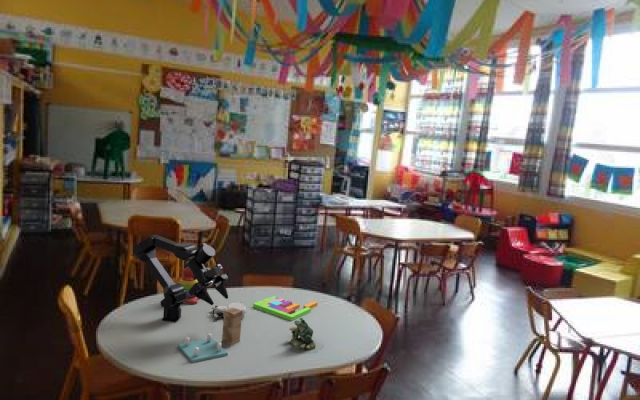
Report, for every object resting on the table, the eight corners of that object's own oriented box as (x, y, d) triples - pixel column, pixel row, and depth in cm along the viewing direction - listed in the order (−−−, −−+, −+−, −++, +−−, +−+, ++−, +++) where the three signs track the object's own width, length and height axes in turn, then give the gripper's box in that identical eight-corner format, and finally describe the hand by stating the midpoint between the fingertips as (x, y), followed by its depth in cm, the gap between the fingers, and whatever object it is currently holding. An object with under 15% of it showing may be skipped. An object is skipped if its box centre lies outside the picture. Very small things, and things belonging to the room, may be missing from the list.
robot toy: (213, 323, 220) (248, 319, 225) (213, 313, 220) (248, 310, 224) (210, 312, 232) (243, 309, 236) (210, 303, 231) (243, 300, 236)
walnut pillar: (221, 341, 201) (224, 310, 199) (230, 337, 205) (232, 307, 203) (231, 345, 199) (234, 314, 197) (239, 341, 203) (242, 310, 201)
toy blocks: (291, 321, 229) (321, 308, 250) (291, 317, 229) (321, 303, 250) (252, 308, 241) (284, 295, 262) (253, 303, 240) (284, 291, 261)
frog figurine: (274, 336, 211) (276, 310, 210) (314, 334, 218) (317, 308, 216) (286, 356, 195) (289, 327, 193) (329, 352, 201) (332, 325, 200)
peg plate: (178, 346, 193) (178, 336, 193) (212, 340, 202) (212, 330, 201) (191, 362, 182) (192, 352, 182) (227, 355, 190) (228, 345, 190)
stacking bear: (196, 304, 237) (198, 268, 234) (174, 302, 237) (176, 266, 234) (201, 297, 247) (204, 261, 244) (181, 295, 247) (183, 259, 245)
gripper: (194, 263, 197) (216, 295, 193) (224, 254, 213) (245, 284, 209) (179, 280, 201) (200, 312, 197) (210, 270, 218) (230, 299, 214)
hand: (220, 301), depth 204 cm, fingers open, 9 cm apart
